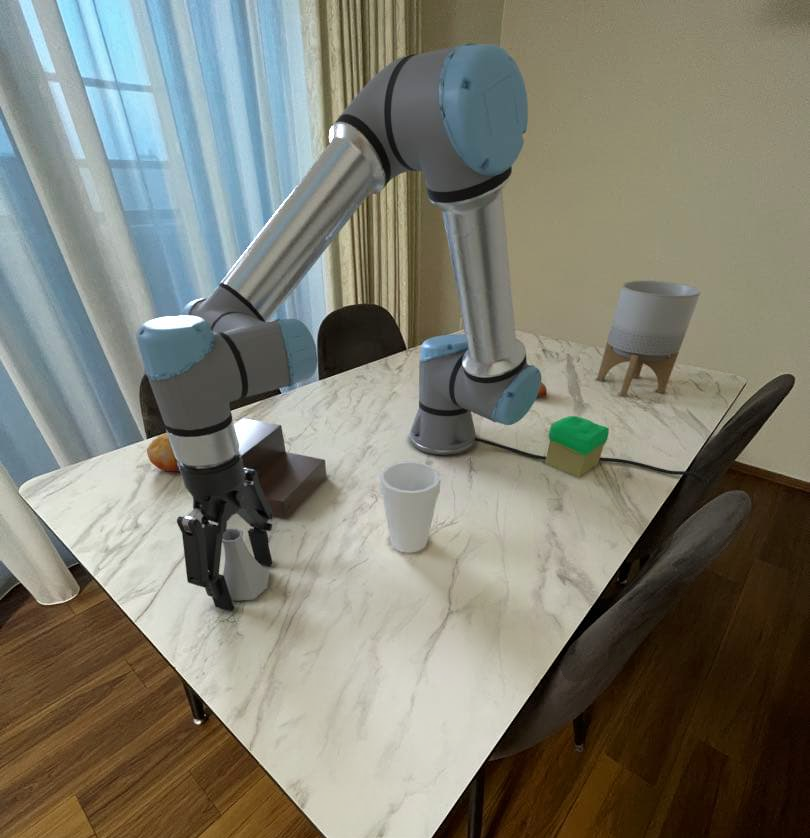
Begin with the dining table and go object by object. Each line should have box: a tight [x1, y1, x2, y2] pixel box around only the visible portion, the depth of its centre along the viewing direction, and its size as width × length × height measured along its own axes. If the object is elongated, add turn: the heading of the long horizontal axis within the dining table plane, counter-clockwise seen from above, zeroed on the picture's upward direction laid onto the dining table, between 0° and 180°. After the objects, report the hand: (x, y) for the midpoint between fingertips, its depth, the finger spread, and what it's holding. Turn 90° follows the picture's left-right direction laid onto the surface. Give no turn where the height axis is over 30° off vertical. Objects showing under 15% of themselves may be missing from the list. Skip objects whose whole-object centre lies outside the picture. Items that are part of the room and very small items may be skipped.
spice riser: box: [234, 417, 328, 520], centre depth 91 cm, size 18×16×10 cm
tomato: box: [537, 381, 548, 397], centre depth 131 cm, size 8×7×7 cm
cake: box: [544, 415, 610, 478], centre depth 100 cm, size 10×11×10 cm
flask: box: [222, 527, 270, 602], centre depth 69 cm, size 7×7×10 cm
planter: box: [596, 280, 702, 398], centre depth 130 cm, size 19×19×26 cm
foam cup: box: [379, 460, 441, 554], centre depth 77 cm, size 10×9×13 cm
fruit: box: [146, 433, 180, 472], centre depth 98 cm, size 8×8×8 cm
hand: (245, 583), depth 72 cm, fingers open, 10 cm apart
